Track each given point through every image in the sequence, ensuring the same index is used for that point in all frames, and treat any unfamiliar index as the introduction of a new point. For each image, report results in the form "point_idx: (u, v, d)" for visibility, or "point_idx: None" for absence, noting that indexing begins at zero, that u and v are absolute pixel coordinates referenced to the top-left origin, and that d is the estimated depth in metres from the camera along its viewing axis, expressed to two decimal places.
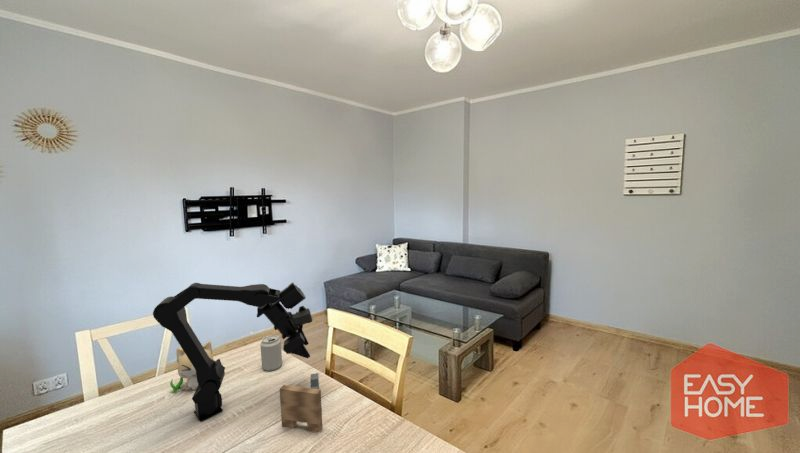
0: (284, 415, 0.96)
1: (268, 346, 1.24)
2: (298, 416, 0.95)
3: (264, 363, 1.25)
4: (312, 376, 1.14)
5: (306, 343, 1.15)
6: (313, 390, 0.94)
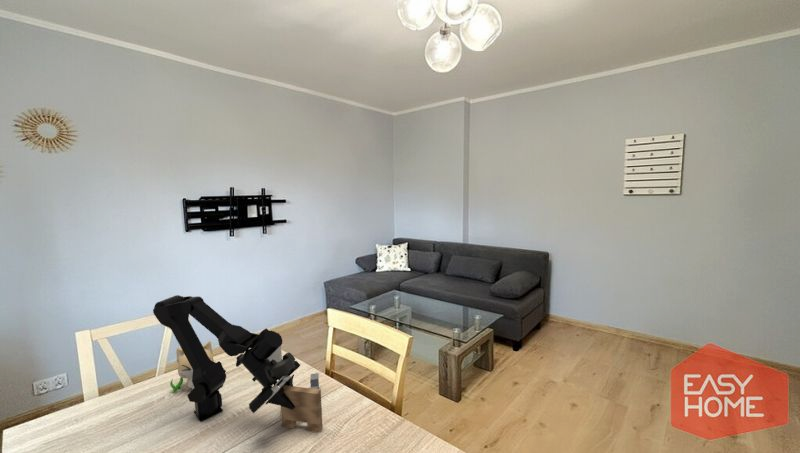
0: (284, 415, 0.96)
1: None
2: (298, 416, 0.95)
3: None
4: (312, 376, 1.14)
5: None
6: (313, 390, 0.94)
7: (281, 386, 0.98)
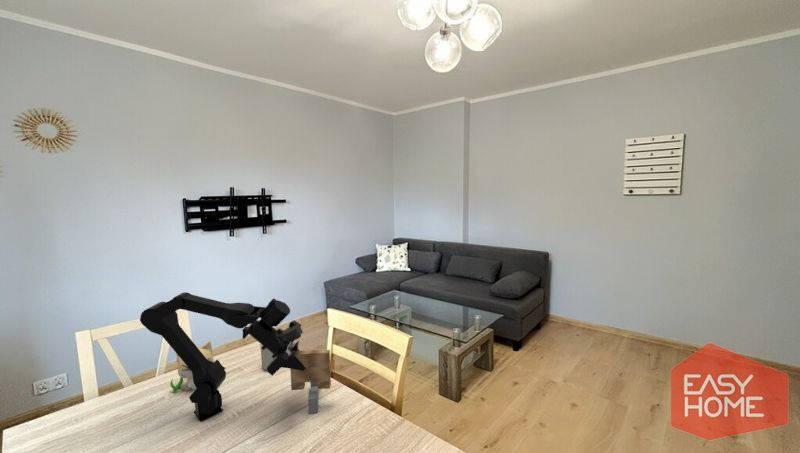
0: (294, 378, 1.03)
1: None
2: (308, 377, 1.03)
3: (264, 363, 1.25)
4: None
5: None
6: (323, 351, 1.03)
7: None
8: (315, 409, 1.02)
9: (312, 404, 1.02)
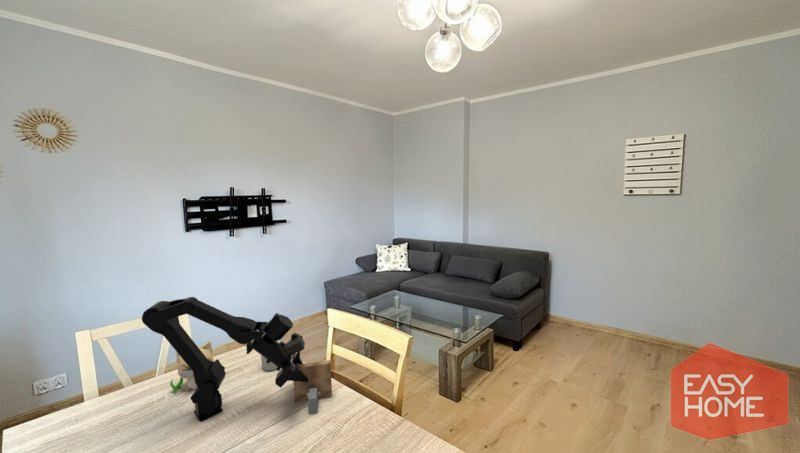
0: (297, 391, 1.07)
1: None
2: None
3: (264, 363, 1.25)
4: None
5: None
6: (324, 362, 1.09)
7: None
8: (315, 409, 1.02)
9: (312, 404, 1.02)
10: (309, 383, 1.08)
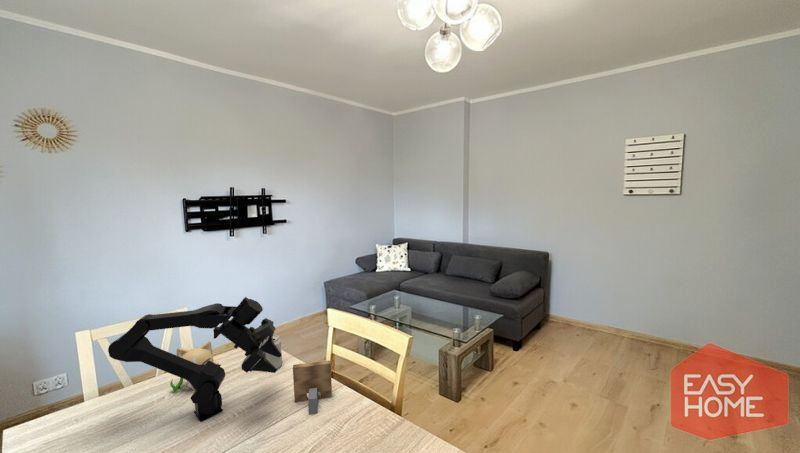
0: (297, 391, 1.07)
1: None
2: None
3: None
4: None
5: (279, 355, 1.10)
6: (324, 362, 1.09)
7: (262, 345, 1.10)
8: (315, 409, 1.02)
9: (312, 404, 1.02)
10: (309, 383, 1.08)
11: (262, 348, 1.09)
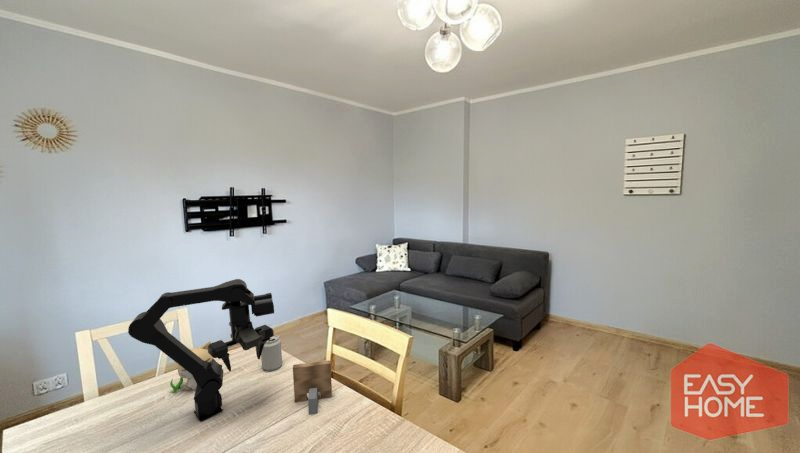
0: (297, 391, 1.07)
1: (268, 346, 1.24)
2: None
3: (264, 363, 1.25)
4: None
5: (257, 357, 1.10)
6: (324, 362, 1.09)
7: None
8: (315, 409, 1.02)
9: (312, 404, 1.02)
10: (309, 383, 1.08)
11: None
